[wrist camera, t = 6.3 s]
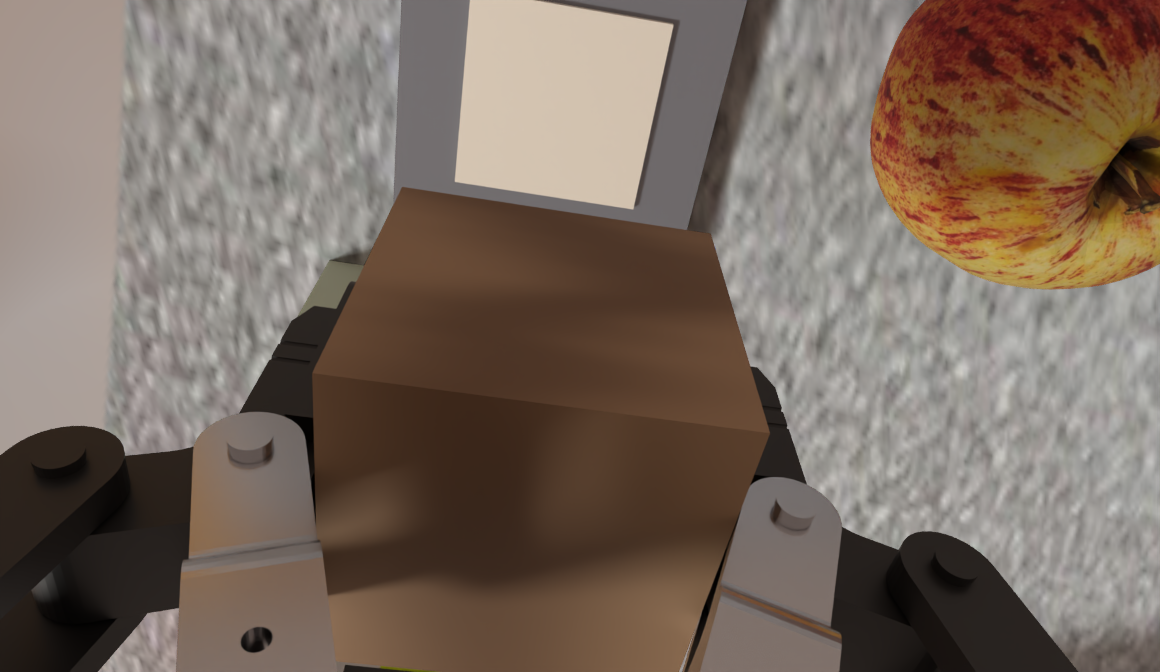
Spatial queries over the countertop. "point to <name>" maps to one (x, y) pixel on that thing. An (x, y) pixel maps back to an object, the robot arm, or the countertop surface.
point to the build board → (563, 101)
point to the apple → (1026, 137)
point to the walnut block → (529, 441)
